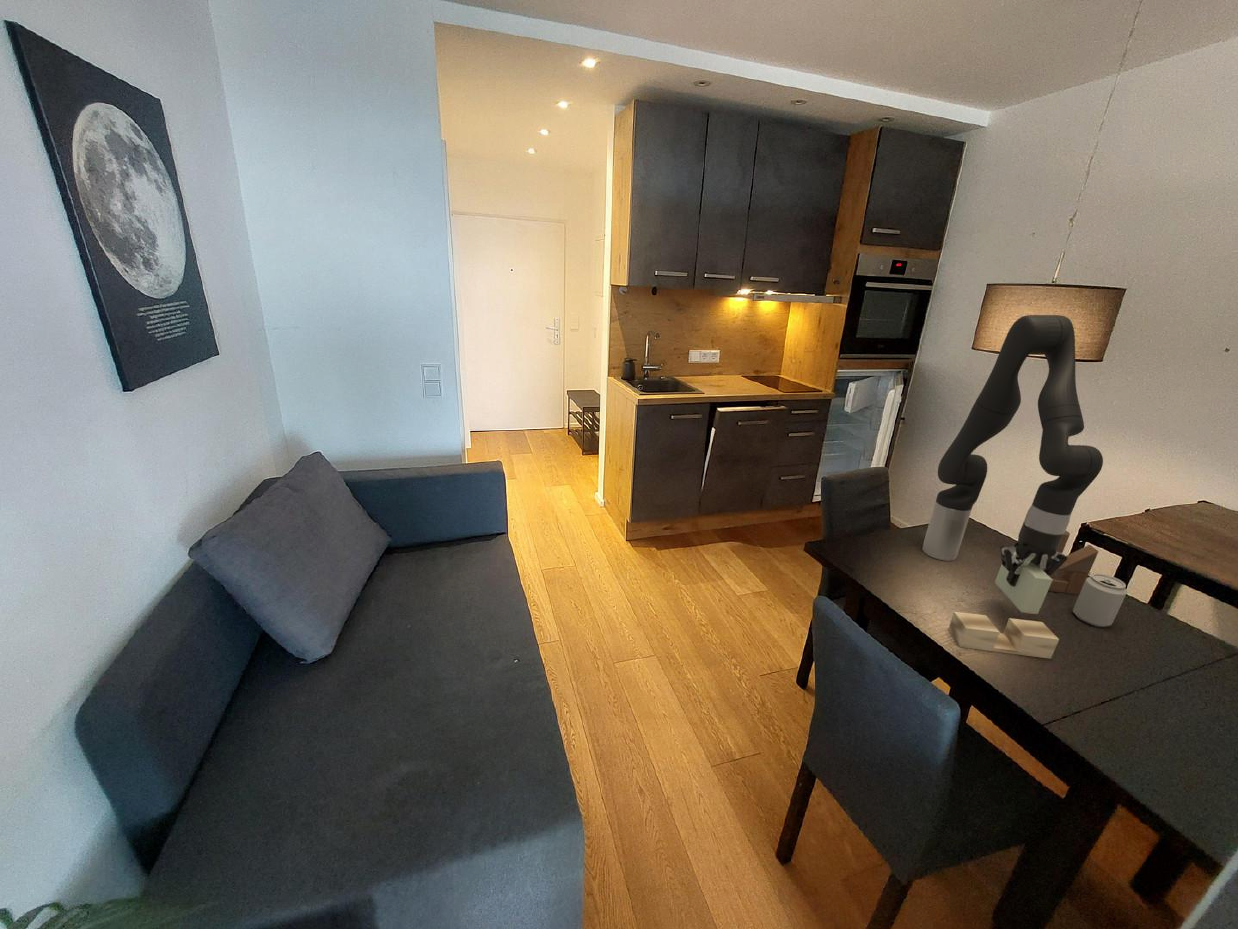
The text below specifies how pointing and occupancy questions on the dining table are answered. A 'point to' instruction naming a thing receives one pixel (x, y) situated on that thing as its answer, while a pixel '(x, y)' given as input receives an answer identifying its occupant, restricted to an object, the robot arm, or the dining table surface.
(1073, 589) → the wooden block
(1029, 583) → the sage green tall block
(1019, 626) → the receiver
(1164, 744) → the dining table surface
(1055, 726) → the dining table surface
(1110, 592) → the can
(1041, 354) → the robot arm
